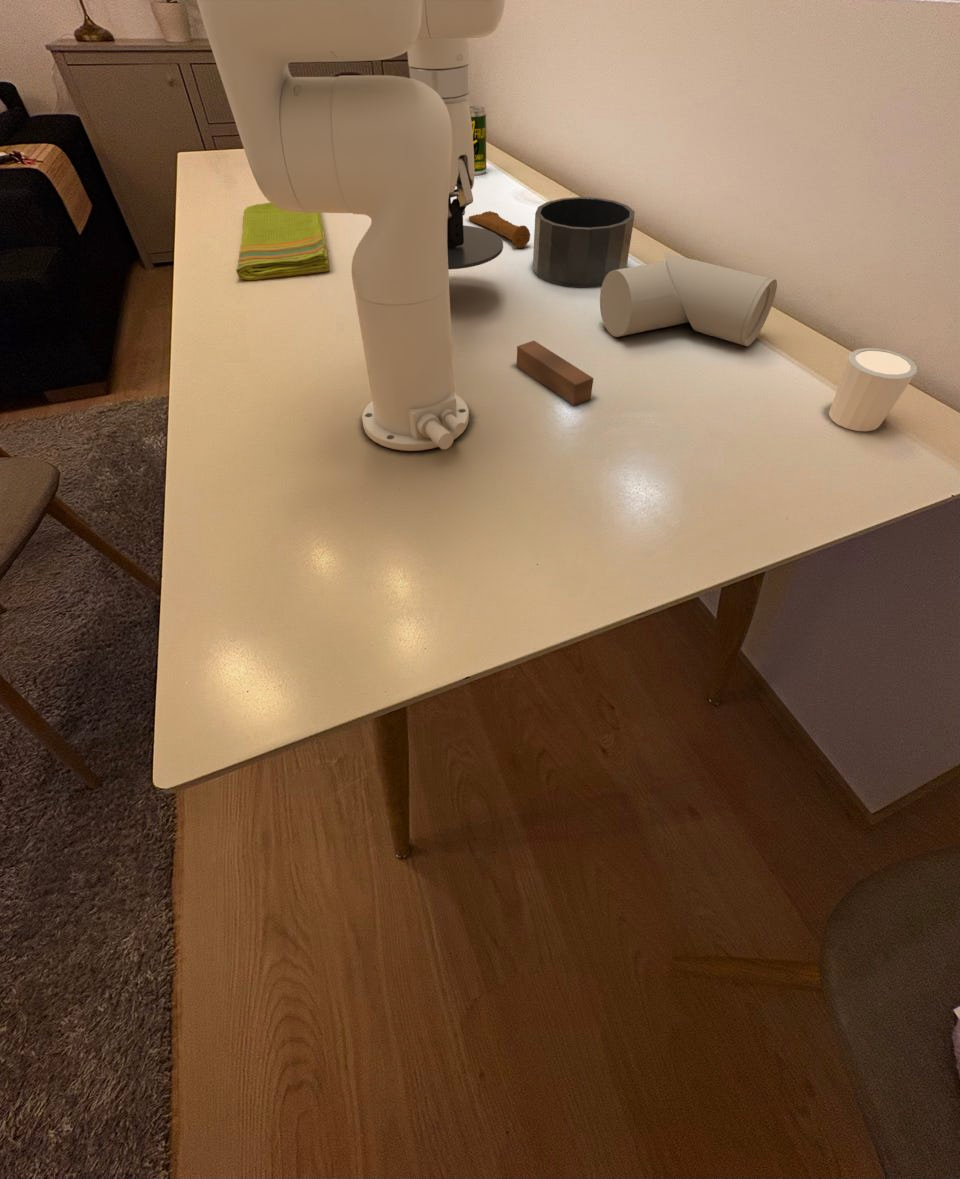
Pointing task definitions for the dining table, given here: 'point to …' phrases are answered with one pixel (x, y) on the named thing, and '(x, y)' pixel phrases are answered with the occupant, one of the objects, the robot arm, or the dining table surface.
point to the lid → (475, 248)
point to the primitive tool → (503, 227)
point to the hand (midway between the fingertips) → (447, 241)
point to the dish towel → (281, 243)
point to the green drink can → (479, 138)
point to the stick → (554, 372)
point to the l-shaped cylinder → (687, 299)
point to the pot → (581, 240)
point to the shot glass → (870, 388)
